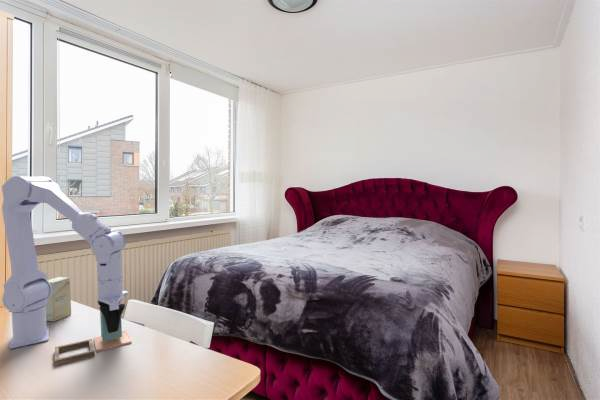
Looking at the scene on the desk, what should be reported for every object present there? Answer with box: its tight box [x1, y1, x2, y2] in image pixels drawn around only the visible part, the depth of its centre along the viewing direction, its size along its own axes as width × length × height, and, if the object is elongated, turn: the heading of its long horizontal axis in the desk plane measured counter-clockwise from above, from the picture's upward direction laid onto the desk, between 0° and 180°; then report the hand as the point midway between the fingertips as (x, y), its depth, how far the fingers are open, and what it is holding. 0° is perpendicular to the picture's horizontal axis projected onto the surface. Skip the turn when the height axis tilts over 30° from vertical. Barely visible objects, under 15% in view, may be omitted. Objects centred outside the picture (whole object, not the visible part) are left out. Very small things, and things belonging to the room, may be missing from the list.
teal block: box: [99, 310, 122, 341], centre depth 91 cm, size 4×4×7 cm
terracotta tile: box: [93, 330, 132, 353], centre depth 92 cm, size 8×8×1 cm
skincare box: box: [45, 276, 72, 322], centre depth 108 cm, size 6×4×12 cm
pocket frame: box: [54, 338, 96, 367], centre depth 85 cm, size 8×8×1 cm
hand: (111, 328), depth 92 cm, fingers closed on teal block, 4 cm apart
